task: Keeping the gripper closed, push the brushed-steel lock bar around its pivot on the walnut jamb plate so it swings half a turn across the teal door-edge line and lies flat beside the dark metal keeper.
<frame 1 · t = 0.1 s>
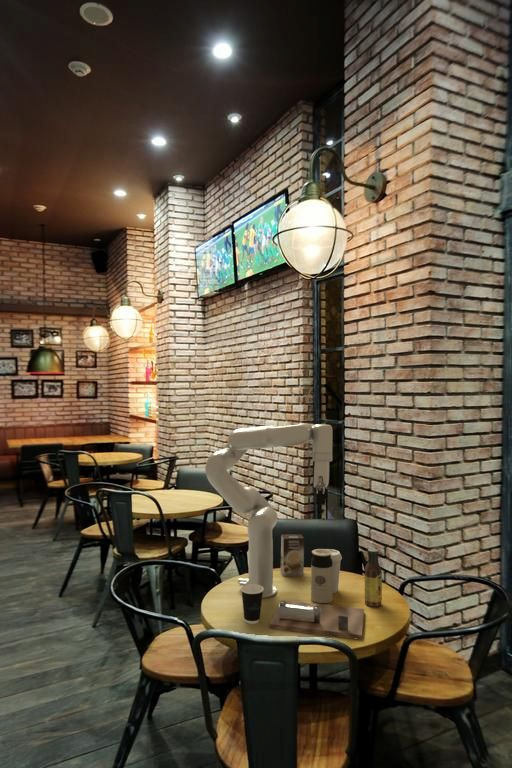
hand: (322, 501, 193), 37 cm above the table, tool pointing down, fingers open, 9 cm apart
lock bar: (299, 611, 171), point 4 cm above the table, hinge at 0.0°
coffee cup: (329, 590, 201), on the table
travel mug: (321, 600, 192), on the table
coffee box: (292, 573, 219), on the table
jamb plate: (318, 620, 174), on the table
sauce bottle: (373, 604, 188), on the table
dixie cup: (251, 621, 174), on the table
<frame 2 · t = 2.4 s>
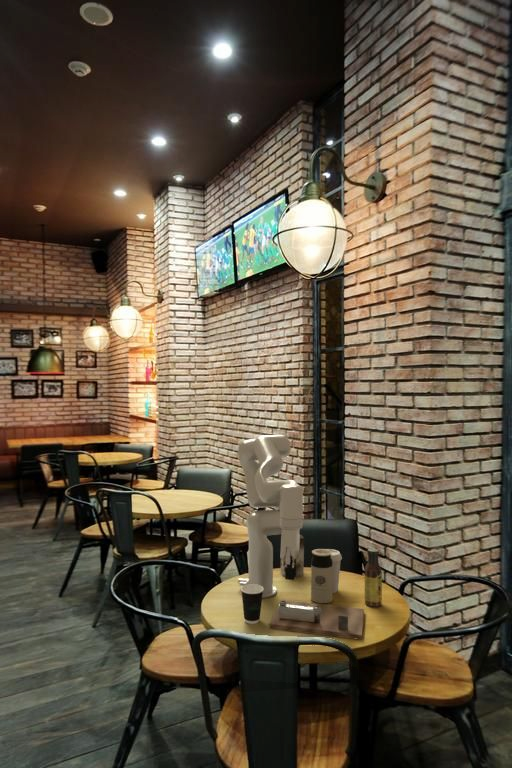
hand: (290, 577, 167), 17 cm above the table, tool pointing down, fingers closed
nothing on the table moved.
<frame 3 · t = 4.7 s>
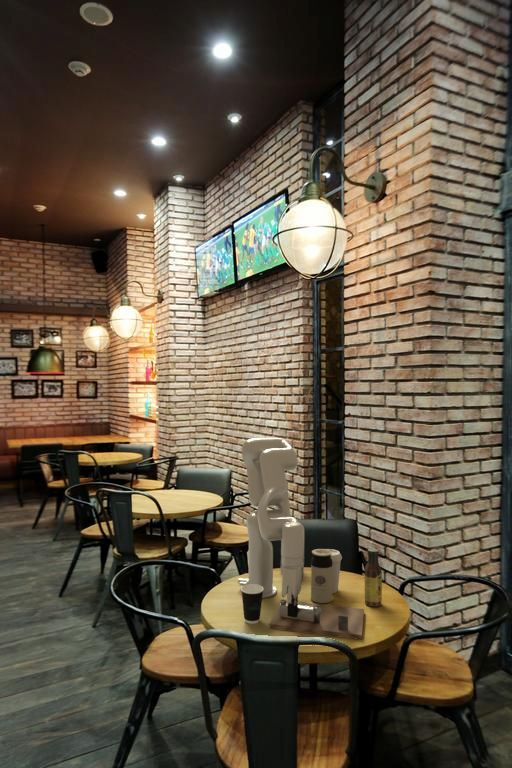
hand: (292, 615, 169), 4 cm above the table, tool pointing down, fingers closed
lock bar: (300, 610, 171), point 4 cm above the table, hinge at 5.4°, touching gripper
everything else where it was.
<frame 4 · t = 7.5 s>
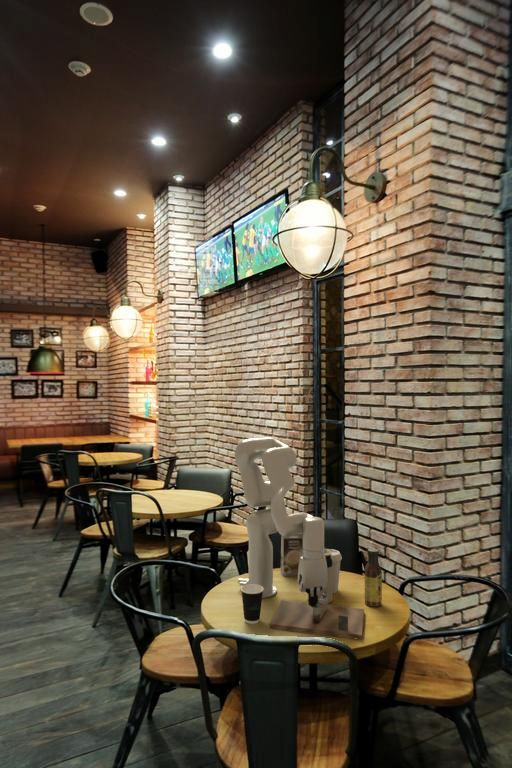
hand: (313, 606, 177), 4 cm above the table, tool pointing down, fingers closed
lock bar: (320, 606, 175), point 4 cm above the table, hinge at 97.0°, touching gripper
everything else where it was.
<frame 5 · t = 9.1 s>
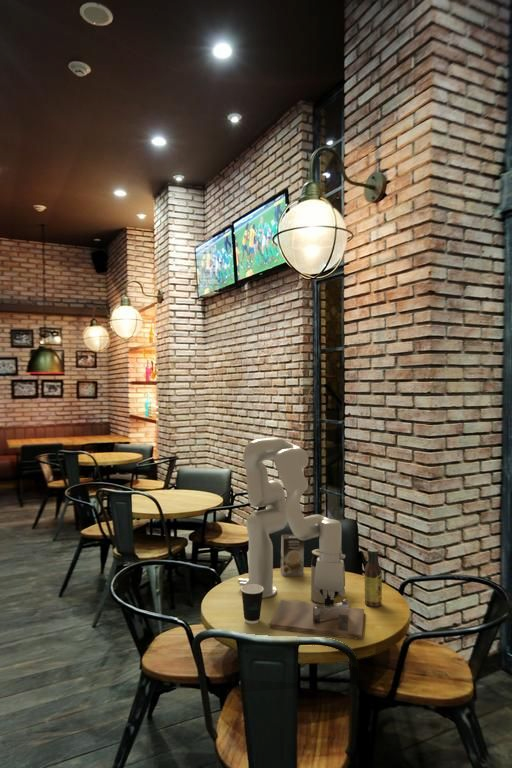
hand: (329, 609, 175), 3 cm above the table, tool pointing down, fingers closed
lock bar: (330, 610, 172), point 4 cm above the table, hinge at 139.9°, touching gripper
everything else where it was.
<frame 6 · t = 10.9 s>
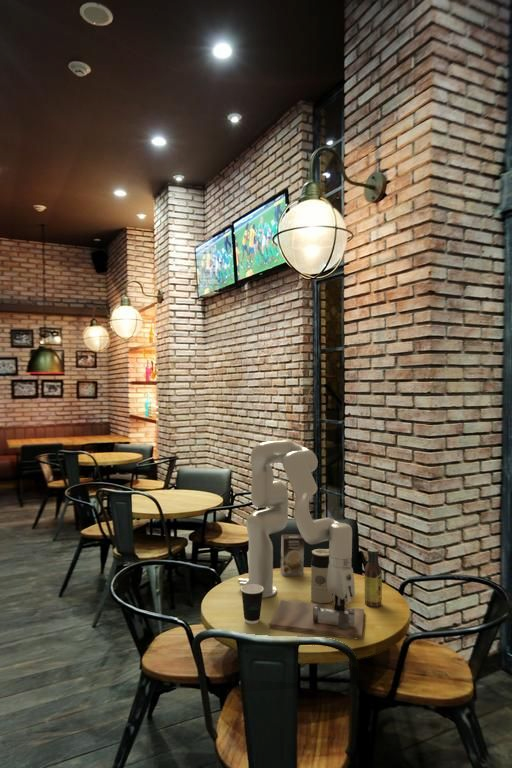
hand: (339, 615, 171), 3 cm above the table, tool pointing down, fingers closed
lock bar: (333, 615, 168), point 4 cm above the table, hinge at 181.3°, touching gripper
everything else where it was.
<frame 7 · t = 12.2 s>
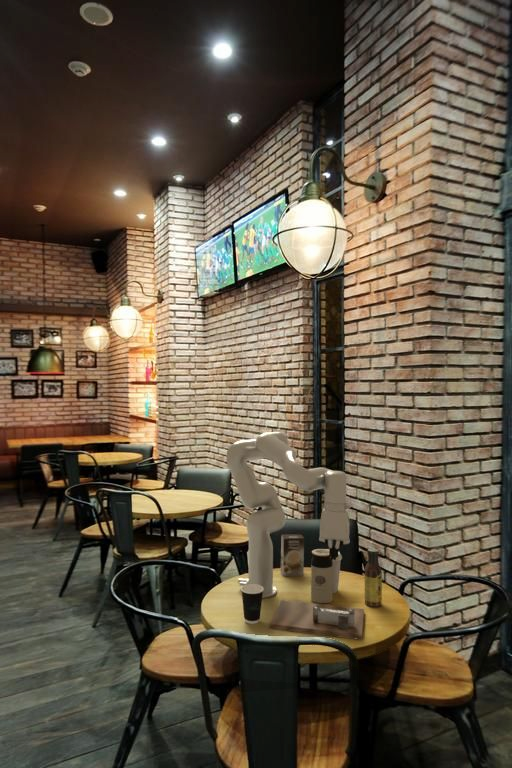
hand: (333, 558, 178), 20 cm above the table, tool pointing down, fingers closed
lock bar: (333, 615, 168), point 4 cm above the table, hinge at 181.3°
everything else where it was.
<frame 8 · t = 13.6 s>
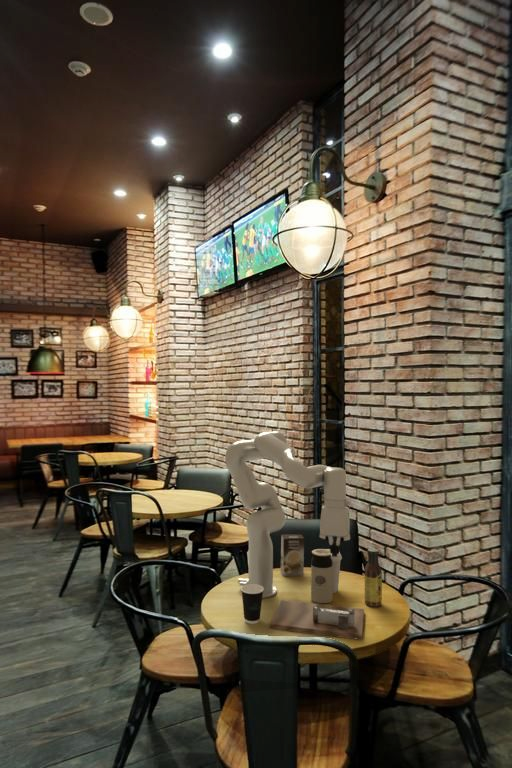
hand: (334, 555, 178), 21 cm above the table, tool pointing down, fingers closed
nothing on the table moved.
at the end: lock bar at +181° (first picture: +0°) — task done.
